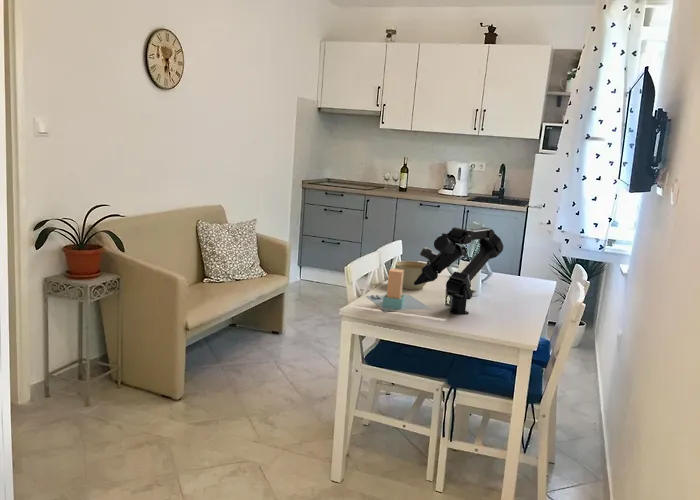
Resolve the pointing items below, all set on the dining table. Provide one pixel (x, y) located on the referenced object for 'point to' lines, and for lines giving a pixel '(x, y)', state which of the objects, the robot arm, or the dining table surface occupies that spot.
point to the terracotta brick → (395, 283)
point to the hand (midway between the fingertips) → (416, 281)
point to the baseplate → (406, 307)
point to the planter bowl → (411, 273)
